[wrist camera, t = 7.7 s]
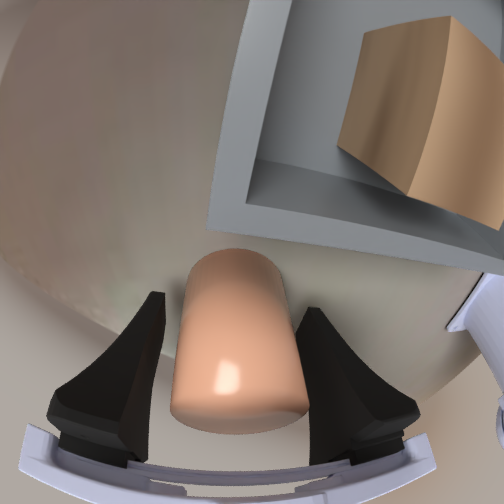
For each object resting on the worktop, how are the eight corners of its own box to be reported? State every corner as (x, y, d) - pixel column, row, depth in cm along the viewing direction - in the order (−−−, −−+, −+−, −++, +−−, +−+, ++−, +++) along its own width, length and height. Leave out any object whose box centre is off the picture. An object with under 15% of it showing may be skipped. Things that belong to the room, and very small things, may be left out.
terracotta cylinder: (293, 255, 13) (332, 384, 8) (269, 323, 16) (285, 433, 10) (189, 242, 12) (165, 378, 7) (185, 315, 15) (173, 429, 9)
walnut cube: (452, 83, 8) (537, 106, 4) (426, 176, 10) (498, 230, 6) (364, 32, 7) (451, 15, 3) (336, 145, 10) (407, 195, 6)
